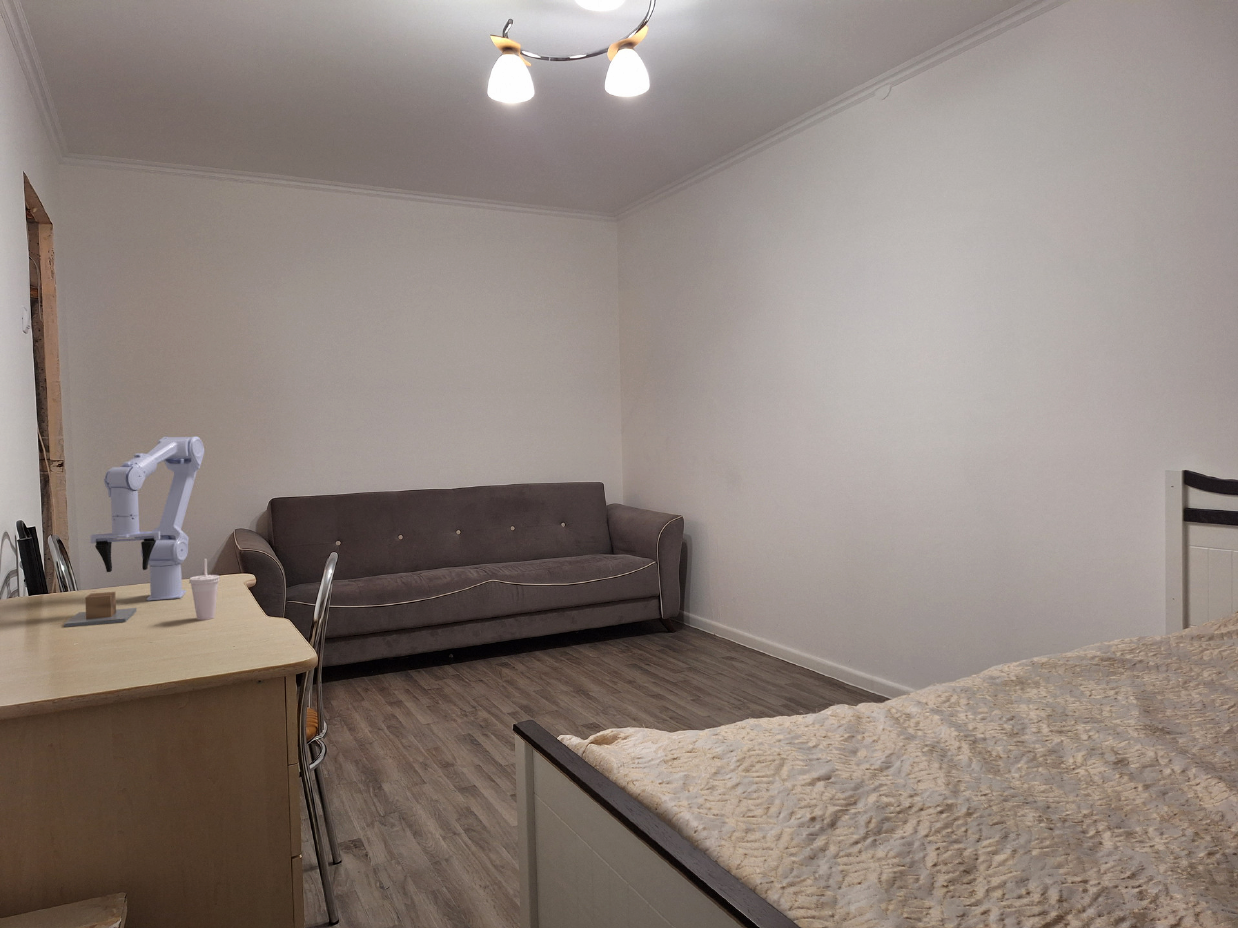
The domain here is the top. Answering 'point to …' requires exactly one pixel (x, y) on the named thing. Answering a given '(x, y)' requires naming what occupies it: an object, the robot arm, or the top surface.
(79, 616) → the coaster
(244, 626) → the top surface
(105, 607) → the walnut cube
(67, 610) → the top surface
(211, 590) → the smoothie
